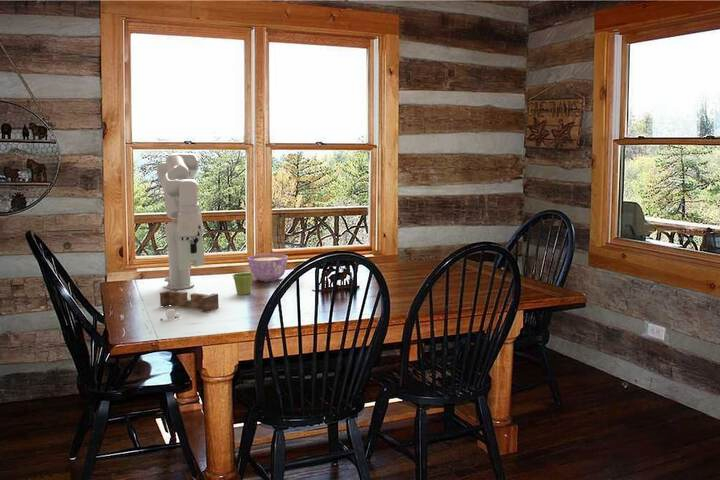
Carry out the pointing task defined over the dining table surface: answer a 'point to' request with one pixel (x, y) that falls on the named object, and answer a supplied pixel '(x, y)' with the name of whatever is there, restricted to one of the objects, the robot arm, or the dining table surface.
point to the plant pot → (243, 283)
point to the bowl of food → (267, 266)
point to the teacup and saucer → (171, 313)
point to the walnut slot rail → (196, 302)
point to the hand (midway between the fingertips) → (191, 252)
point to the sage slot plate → (190, 254)
